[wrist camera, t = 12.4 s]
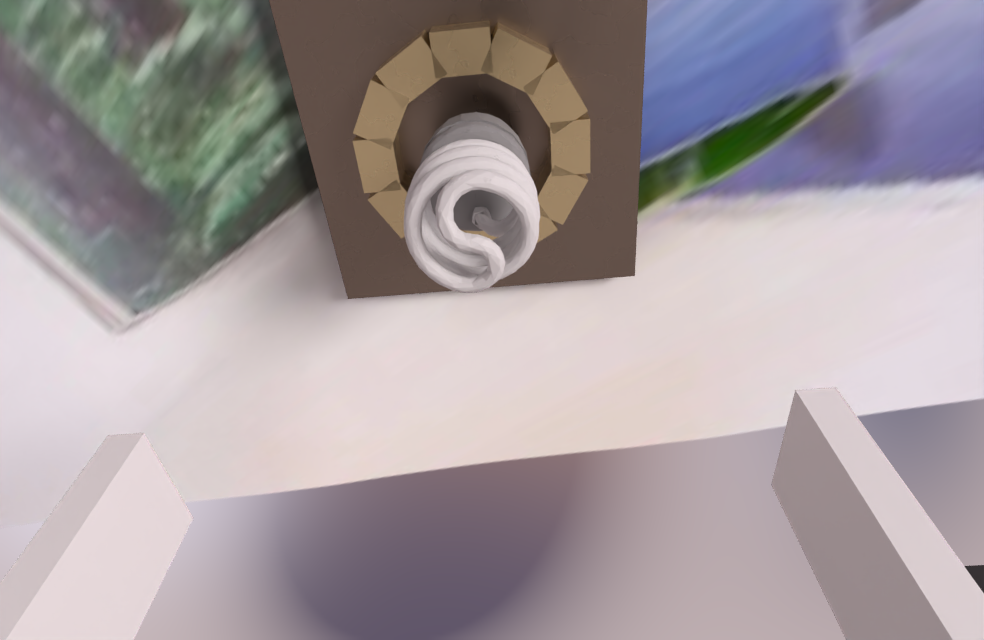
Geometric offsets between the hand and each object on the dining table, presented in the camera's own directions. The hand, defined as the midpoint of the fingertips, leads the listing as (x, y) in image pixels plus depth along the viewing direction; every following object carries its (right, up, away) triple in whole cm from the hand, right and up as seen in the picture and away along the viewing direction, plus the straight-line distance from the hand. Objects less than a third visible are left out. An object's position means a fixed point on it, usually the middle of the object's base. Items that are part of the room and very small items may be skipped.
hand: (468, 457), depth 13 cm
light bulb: (0, +12, +20) cm, 24 cm away
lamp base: (-1, +13, +21) cm, 25 cm away
